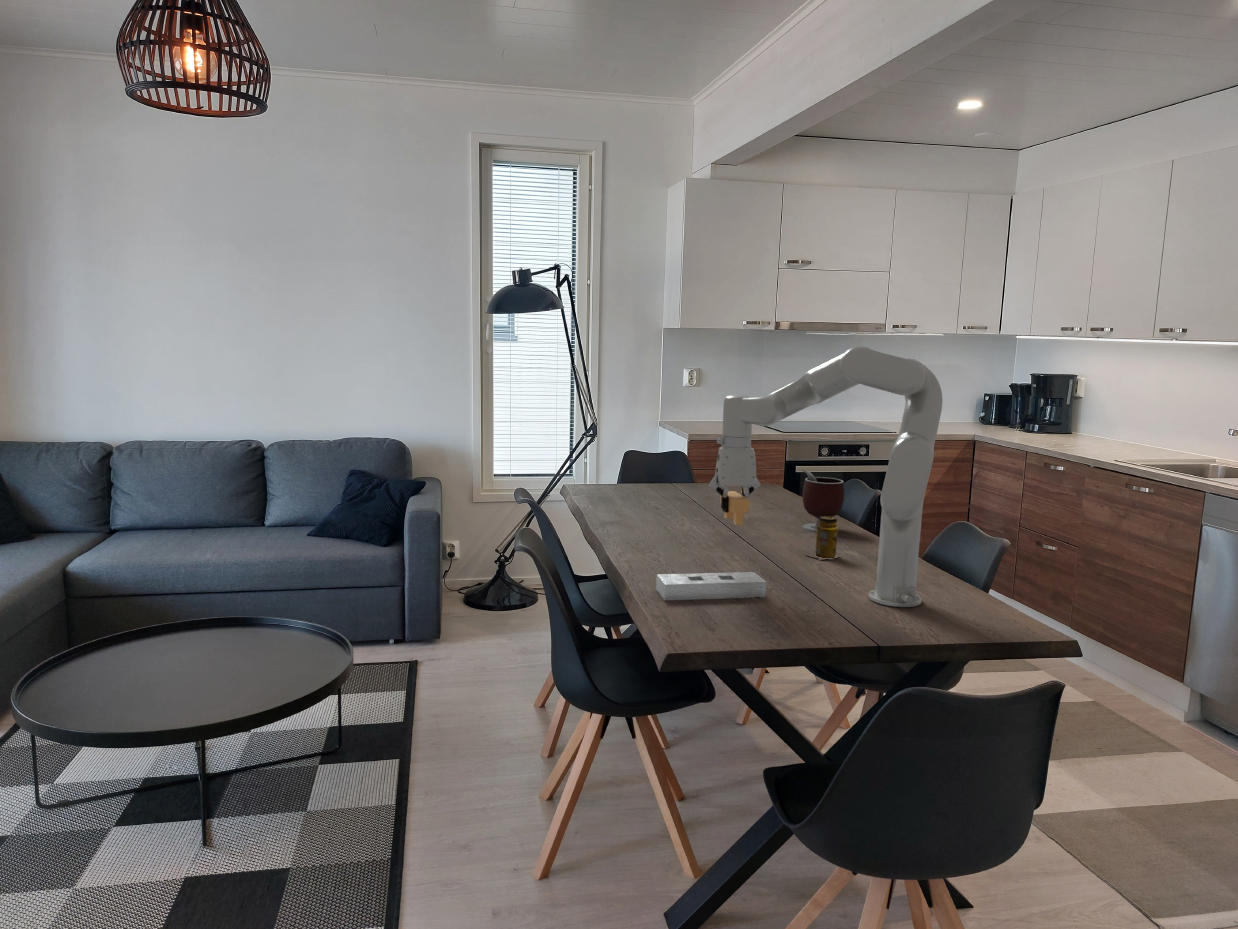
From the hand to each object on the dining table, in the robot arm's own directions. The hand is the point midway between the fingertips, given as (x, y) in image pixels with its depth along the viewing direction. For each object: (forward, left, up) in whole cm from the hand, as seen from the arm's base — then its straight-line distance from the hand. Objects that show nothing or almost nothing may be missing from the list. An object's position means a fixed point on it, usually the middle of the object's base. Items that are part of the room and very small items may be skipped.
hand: (733, 510), depth 225 cm
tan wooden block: (0, 0, -3) cm, 3 cm away
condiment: (+21, -36, -19) cm, 46 cm away
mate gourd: (+58, -51, -19) cm, 80 cm away
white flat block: (-12, +9, -19) cm, 24 cm away
